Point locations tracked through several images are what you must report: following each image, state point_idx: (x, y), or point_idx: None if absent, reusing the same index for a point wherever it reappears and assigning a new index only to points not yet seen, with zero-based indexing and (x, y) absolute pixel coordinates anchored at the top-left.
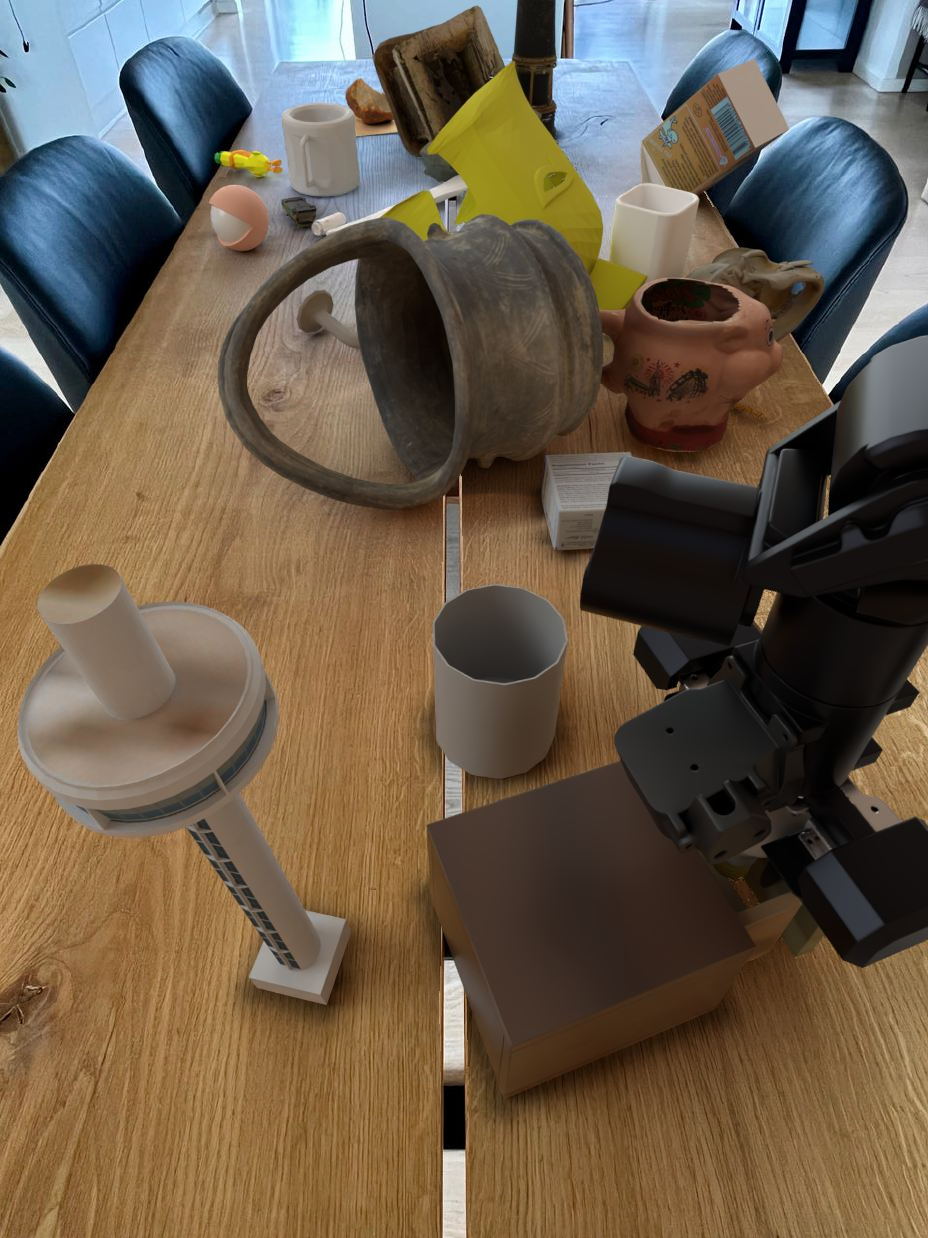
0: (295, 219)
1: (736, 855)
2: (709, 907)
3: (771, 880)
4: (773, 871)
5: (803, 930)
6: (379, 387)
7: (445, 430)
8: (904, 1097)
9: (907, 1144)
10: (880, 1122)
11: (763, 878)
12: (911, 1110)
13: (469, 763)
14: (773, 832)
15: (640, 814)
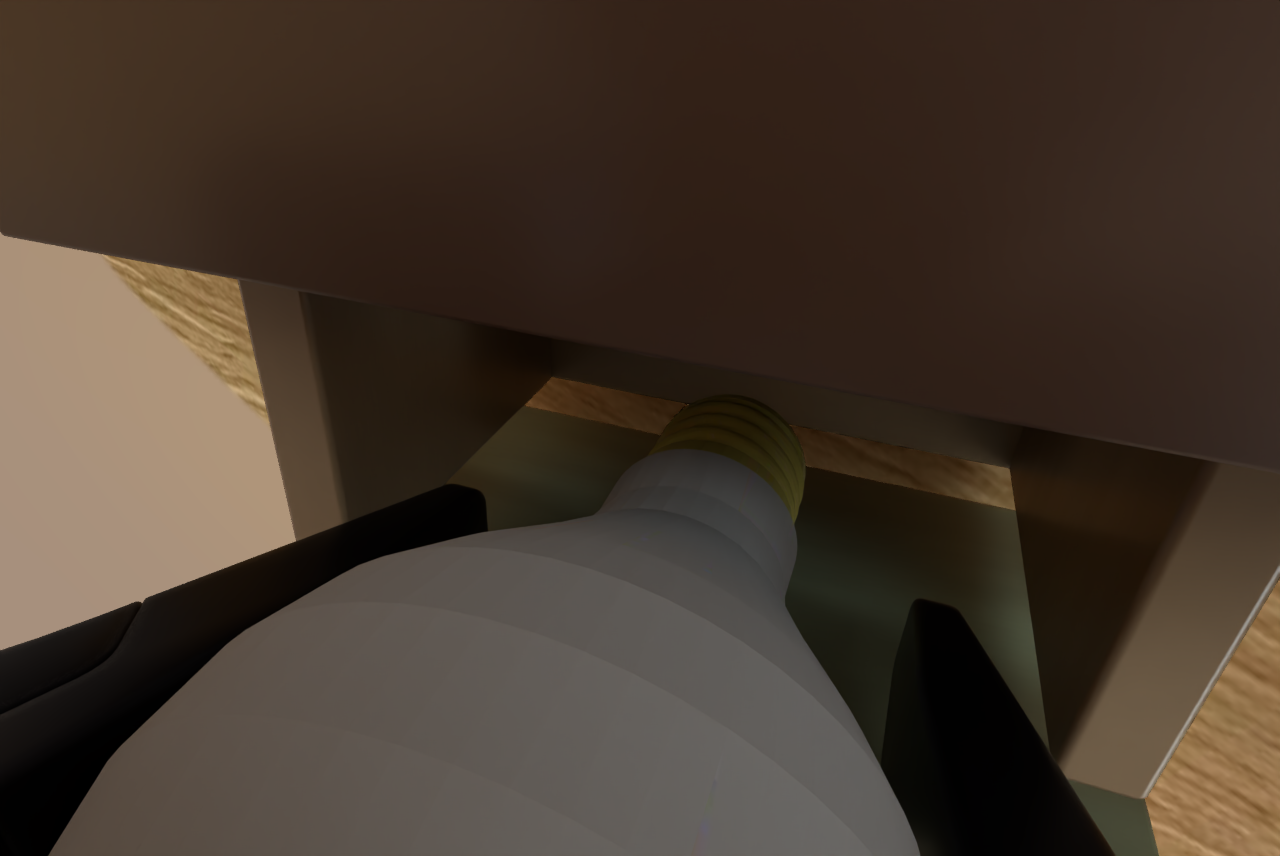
0: None
1: (604, 509)
2: (192, 132)
3: (291, 551)
4: (211, 610)
5: (462, 476)
6: None
7: None
8: (243, 376)
9: (173, 315)
10: (209, 299)
11: (405, 523)
12: (223, 369)
13: None
14: None
15: (1147, 107)
